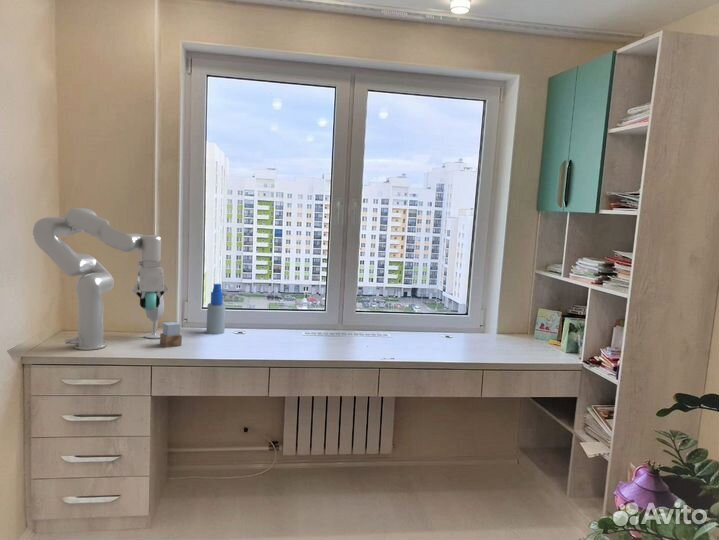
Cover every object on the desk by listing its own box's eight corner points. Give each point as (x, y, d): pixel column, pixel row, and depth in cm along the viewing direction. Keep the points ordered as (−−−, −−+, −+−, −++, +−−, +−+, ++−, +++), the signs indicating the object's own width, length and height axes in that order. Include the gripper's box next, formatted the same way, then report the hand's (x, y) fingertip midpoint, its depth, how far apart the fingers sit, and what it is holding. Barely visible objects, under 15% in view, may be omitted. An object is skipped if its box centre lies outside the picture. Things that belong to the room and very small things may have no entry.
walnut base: (165, 347, 224) (166, 336, 224) (159, 344, 230) (160, 333, 229) (181, 346, 229) (181, 335, 229) (175, 342, 234) (175, 332, 234)
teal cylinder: (145, 310, 212) (146, 293, 211) (141, 308, 215) (142, 291, 215) (157, 309, 215) (158, 293, 214) (153, 307, 219) (154, 291, 218)
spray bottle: (205, 333, 254) (207, 284, 251) (207, 329, 263) (209, 282, 260) (223, 334, 256) (225, 285, 253) (225, 330, 264) (227, 283, 262)
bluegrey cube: (167, 336, 225) (167, 325, 225) (162, 333, 229) (163, 322, 229) (179, 335, 229) (179, 324, 228) (174, 332, 233) (175, 321, 232)
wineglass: (167, 335, 245) (168, 293, 243) (158, 339, 236) (159, 295, 234) (150, 334, 246) (151, 291, 244) (140, 338, 237) (141, 294, 235)
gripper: (132, 265, 205) (131, 309, 207) (174, 265, 216) (173, 307, 218) (126, 263, 211) (125, 306, 212) (167, 263, 222) (166, 304, 224)
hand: (149, 306), depth 215 cm, fingers closed on teal cylinder, 5 cm apart
